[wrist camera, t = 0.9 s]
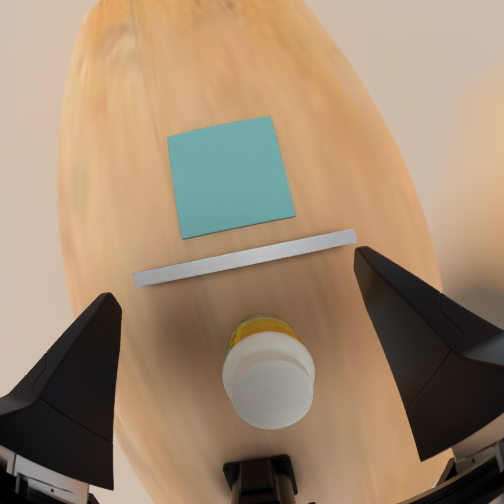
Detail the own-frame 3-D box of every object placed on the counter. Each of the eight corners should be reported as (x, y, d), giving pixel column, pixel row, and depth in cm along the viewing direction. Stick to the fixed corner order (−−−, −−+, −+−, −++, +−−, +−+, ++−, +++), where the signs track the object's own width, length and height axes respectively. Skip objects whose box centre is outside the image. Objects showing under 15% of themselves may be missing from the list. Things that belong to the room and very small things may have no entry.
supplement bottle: (297, 371, 21) (327, 433, 12) (232, 378, 21) (224, 444, 12) (293, 309, 22) (327, 340, 12) (225, 315, 22) (209, 352, 12)
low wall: (343, 245, 22) (357, 242, 19) (149, 284, 22) (135, 287, 19) (340, 232, 22) (354, 228, 19) (147, 272, 22) (133, 273, 19)
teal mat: (294, 216, 22) (295, 215, 22) (183, 239, 22) (182, 238, 21) (270, 118, 22) (270, 116, 22) (168, 139, 22) (167, 137, 22)
